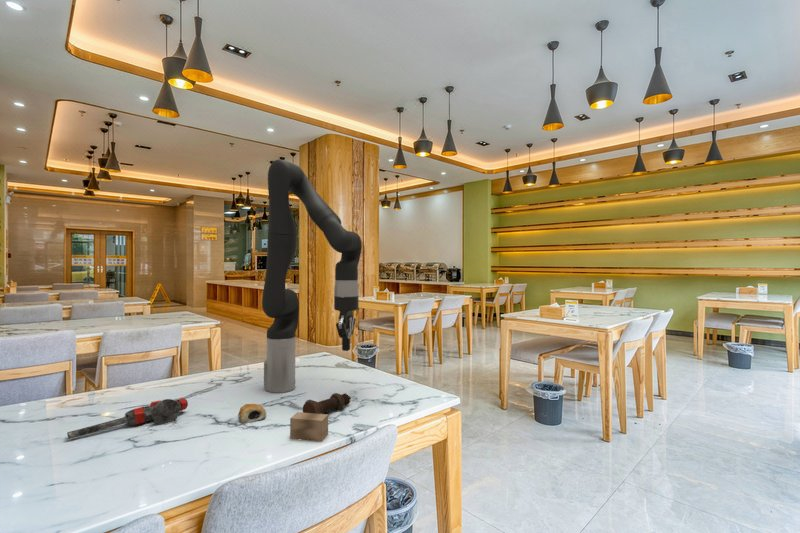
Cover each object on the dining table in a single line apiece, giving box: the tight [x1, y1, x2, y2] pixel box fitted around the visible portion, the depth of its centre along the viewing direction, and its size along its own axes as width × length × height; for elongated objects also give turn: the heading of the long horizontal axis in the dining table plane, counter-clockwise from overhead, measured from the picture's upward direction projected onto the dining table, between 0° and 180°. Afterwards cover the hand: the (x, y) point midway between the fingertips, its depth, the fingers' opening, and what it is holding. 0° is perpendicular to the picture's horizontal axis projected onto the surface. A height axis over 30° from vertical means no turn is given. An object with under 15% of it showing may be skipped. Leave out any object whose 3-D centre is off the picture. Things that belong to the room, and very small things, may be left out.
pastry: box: [238, 403, 267, 424], centre depth 108 cm, size 9×7×4 cm
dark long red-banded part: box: [67, 397, 189, 440], centre depth 103 cm, size 6×26×15 cm
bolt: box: [302, 392, 351, 414], centre depth 111 cm, size 6×5×15 cm
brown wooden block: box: [289, 411, 329, 443], centre depth 95 cm, size 8×4×5 cm, turn 80°
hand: (346, 350), depth 123 cm, fingers closed
